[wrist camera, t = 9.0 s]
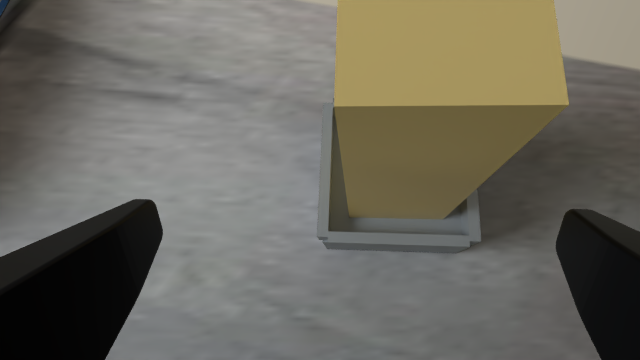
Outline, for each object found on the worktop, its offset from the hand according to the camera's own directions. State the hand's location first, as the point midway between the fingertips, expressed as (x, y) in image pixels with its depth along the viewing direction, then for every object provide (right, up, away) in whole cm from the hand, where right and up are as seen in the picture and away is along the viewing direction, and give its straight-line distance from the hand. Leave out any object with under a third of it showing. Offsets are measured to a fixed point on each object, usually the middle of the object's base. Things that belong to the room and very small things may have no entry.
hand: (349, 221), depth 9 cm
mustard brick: (+3, +1, +11) cm, 12 cm away
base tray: (+3, 0, +14) cm, 14 cm away
